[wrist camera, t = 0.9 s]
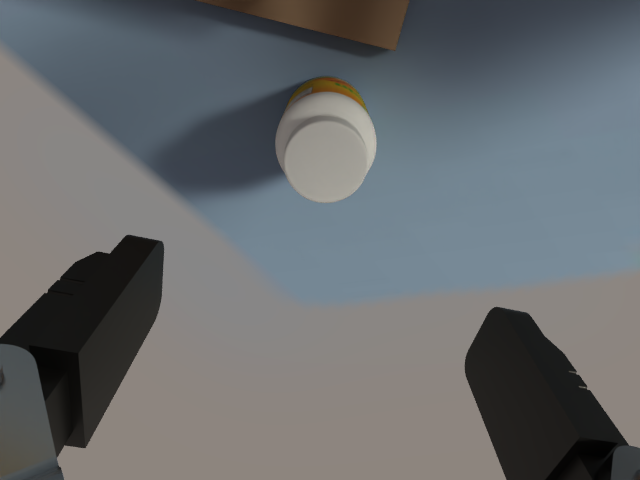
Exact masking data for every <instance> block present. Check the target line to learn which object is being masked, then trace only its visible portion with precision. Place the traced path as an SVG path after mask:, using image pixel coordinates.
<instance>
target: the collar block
mask: <svg viewBox="0 0 640 480" xmlns="http://www.w3.org/2000/svg"><path fill="white" fill-rule="evenodd" d="M196 1H200V2H204V3H208V4H212V5H216V6H219V7H223V8H227V9H231V10H235V11H239V12H243V13H247V14H251V15H255V16H259V17H263V18H267V19H271V20H275V21H279V22H283V23H287V24H291V25H295V26H299V27H303V28H306V29H310V30H314V31H318V32H322V33H326V34H330V35H334V36H338V37H342V38H346V39H350V40H354V41H358V42H362V43H366V44H370V45H374V46H378V47H382V48H386V49H390V50H393V51H395V49H396V46H397V42H398V39H399V35H400V32H401V28H402V25H403V21H404V18H405V14H406V11H407V7H408V4H409V0H196Z"/></svg>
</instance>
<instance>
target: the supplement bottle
mask: <svg viewBox="0 0 640 480" xmlns="http://www.w3.org/2000/svg"><path fill="white" fill-rule="evenodd" d="M275 148H276V155H277V159H278V162H279V164H280V166H281V168H282V170H283V171H284V173H285V174H286V177H287V179H288V181H289V183H290V184H291V186H292V187H293V188H294V189H295V190H296V191H297V192H298V193H299V194H300V195H302V196H303V197H305V198H307V199H309V200H312V201H315V202H320V203H331V202H336V201H340V200H342V199H345V198H346V197H348V196H350V195H351V194H353V193H354V192H355V191H356V190H357V189H358V188H359V186H360V185H361V184H362V182H363V180H364V178H365V176H366V174H367V172H368V171H369V169H370V167H371V165H372V163H373V161H374V158H375V153H376V133H375V129H374V126H373V123H372V121H371V118H370V116H369V114H368V111H367V109H366V106H365V104H364V101H363V99H362V97H361V96H360V94H359V93H358V91H357V90H356V89H355V88H354V87H353V86H352V85H350V84H349V83H348V82H346V81H344V80H342V79H339V78H336V77H330V76H323V77H317V78H314V79H311V80H309V81H307V82H305V83H304V84H302V85H301V86H300V87H299V88H298V89H297V90H296V91H295V92H294V93H293V95H292V96H291V98H290V100H289V102H288V104H287V106H286V109H285V111H284V114H283V116H282V118H281V121H280V123H279V126H278V129H277V133H276V139H275Z"/></svg>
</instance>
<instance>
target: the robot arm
mask: <svg viewBox="0 0 640 480" xmlns="http://www.w3.org/2000/svg"><path fill="white" fill-rule="evenodd" d="M163 260H164V245H163V242H162V241H158V240H153V239H148V238H143V237H137V236H132V235H127V236H125V237H124V238H123V239H122V241H121V242H120V243H119V244H118V245H117V246H116V247H115V248H114V250H113V251H112V252H111V253H110V254H108V253H103V252H96V253H94V254H92V255H89V256H87V257H85V258H84V259H81V260H79V261H77V262H75V263H74V264H73V265H72V266H71V267H70V268H69V269H68V270H67V271H66V272H65V273H64V274H63V275H62V276H61V278H60V280H57V281H56V282H55V283H54V284H53V285H52V286H51V287H50V288H49V289H48V293H44V294H43V295H42V296H41V297H40V298H39V299H38V300H37V301H36V303H34V304H33V305H32V306H31V308H30V309H28V310H27V311H26V312H25V313H24V314H23V315H22V316H21V318H20V319H18V320H17V322H16V323H14V324H13V325H12V326H11V328H10V329H8V330H7V331H6V332H5V334H4V335H3V336H2V337H1V338H0V480H64V477H63V474H62V470H61V468H60V467H59V466H58V462H57V457H58V455H59V453H60V452H61V450H62V449H63V447H64V445H66V446H73V447H80V448H86V446H87V444H88V442H89V441H90V439H91V437H92V435H93V433H94V431H95V430H96V428H97V426H98V424H99V422H100V421H101V419H102V417H103V415H104V413H105V411H106V410H107V407H108V406H109V404H110V402H111V400H112V399H113V397H114V395H115V393H116V391H117V389H118V388H119V386H120V384H121V382H122V380H123V378H124V376H125V375H126V373H127V371H128V369H129V367H130V366H131V364H132V362H133V360H134V358H135V356H136V355H137V353H138V351H139V349H140V347H141V346H142V344H143V342H144V340H145V338H146V336H147V335H148V333H149V331H150V329H151V327H152V325H153V324H154V322H155V319H156V316H157V314H158V311H159V307H160V303H161V297H162V277H163ZM576 372H577V371H576V370H575V369H574V367H573V366H572V364H571V363H570V362H569V360H568V359H567V357H566V356H565V354H563V352H562V351H561V350H559V349H558V348H557V347H556V346H555V345H554V344H553V343H552V342H551V341H549V340H548V339H547V338H546V337H545V336H544V335H543V333H542V332H541V330H540V329H539V327H538V326H537V324H536V323H535V322H534V320H533V319H532V317H531V316H530V315H529V314H528V313H526V312H520V311H515V310H510V309H505V308H500V307H494V308H493V309H492V310H490V311H489V313H488V315H487V316H486V318H485V320H484V322H483V324H482V326H481V328H480V330H479V331H478V333H477V335H476V337H475V339H474V341H473V343H472V345H471V346H470V348H469V350H468V353H467V355H466V359H465V373H466V377H467V380H468V383H469V385H470V388H471V391H472V393H473V396H474V398H475V401H476V403H477V406H478V408H479V411H480V413H481V415H482V418H483V421H484V424H485V426H486V429H487V431H488V433H489V436H490V439H491V441H492V444H493V446H494V449H495V451H496V454H497V457H498V459H499V462H500V464H501V466H502V469H503V472H504V474H505V477H506V479H507V480H640V448H637V447H634V446H629V445H628V443H627V442H626V440H625V439H624V438H623V436H622V435H621V433H620V432H619V431H618V429H617V428H616V427H615V425H614V424H613V422H612V421H611V419H610V418H609V417H608V415H607V414H606V412H605V411H604V410H603V408H602V407H601V405H600V404H599V402H598V401H597V400H596V398H595V397H594V395H593V394H592V392H591V391H590V390H587V385H586V384H585V383H584V381H583V380H582V378H581V377H580V376H579V375H576Z"/></svg>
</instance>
